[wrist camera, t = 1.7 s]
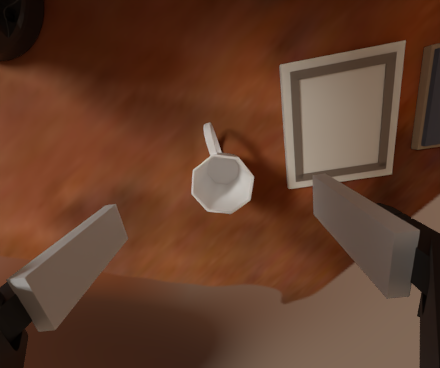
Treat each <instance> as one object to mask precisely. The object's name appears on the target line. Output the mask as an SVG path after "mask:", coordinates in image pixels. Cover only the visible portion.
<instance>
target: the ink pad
mask: <svg viewBox="0 0 440 368" xmlns="http://www.w3.org/2000/svg"><path fill="white" fill-rule="evenodd" d="M433 147H440V43H439V44H434V45H430V46H427V47H424V52H423V59H422V67H421V75H420V83H419V90H418V98H417V106H416V113H415V121H414V129H413V136H412V144H411V149H415V150H420V149H427V148H433Z"/></svg>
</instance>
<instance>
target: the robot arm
mask: <svg viewBox="0 0 440 368" xmlns="http://www.w3.org/2000/svg"><path fill="white" fill-rule="evenodd" d="M43 13H44V0H0V61H6V60H11V59H14V58H16V57H19V56H20V55H22V54H24V53H25V52H26V51H27V50H28V49H29V48H30V47H31V46H32V45H33V43H34V42H35V40H36V39H37V37H38V34H39V32H40V29H41V25H42V21H43ZM313 212H314V215H315V216H316V218H317V219H318V220H319V221H320V222H321V223H322V224H323V226H324V227H325V228H326V229H327V230H328V231H329V233H330V234H331V235H332V236H333V237H334V238H335V239H336V241H337V242H338V243H339V244H340V245H341V246H342V247H343V249H344V250H345V251H346V252H347V253H348V254H349V256H350V257H351V258H352V259H353V260H354V261H355V262H356V264H357V265H358V266H359V267H360V268H361V269H362V270H363V272H364V273H365V274H366V275H367V276H368V277H369V279H370V280H371V281H372V282H373V283H374V284H375V285H376V287H377V288H378V289H379V290H380V291H381V292H382V293H383V295H384V296H385V297H386V298H387V299H388V298H398V297H409V295H410V289H411V283H412V284H414V285H415V286H416V287H417V288H418V289H419V290H420V291H421V292H422V293H421V299H420V304H419V309H418V315H417V316H418V317H420V368H440V233H438V232H436V231H434V230H432V229H430V228H429V227H427V226H425V225H423V224H422V223H420V222H418V221H416V220H414V219H411V217H409V216H407V215H406V214H403V213H402V212H400V211H398V210H397V209H395V208H393V207H390V206H387V205H384V204H381V203H377V204H375V203H374V202H372V201H370V200H369V199H367V198H365V197H364V196H362V195H360V194H359V193H357V192H355V191H354V190H352V189H350V188H349V187H347V186H345V185H344V184H342V183H340V182H339V181H337V180H335V179H334V178H332V177H330V176H329V175H327V174H325V173H324V174H318V175H313ZM127 239H128V237H127V234H126V231H125V228H124V226H123V223H122V220H121V217H120V214H119V212H118V209H117V206H116V204H113V205H106V206H104V207H103V208H101V209H100V210H99V211H97V212H96V213H95V214H93V215H92V216H91V217H89V218H88V219H87V220H85V221H84V222H83V223H81V224H80V225H79V226H77V227H76V228H75V229H73V230H72V231H71V232H69V233H68V234H67V235H65V236H64V237H63V238H61V239H60V240H59V241H57V242H56V243H55V244H53V245H52V246H51V247H49V248H48V249H47V250H45V251H44V252H43V253H41V254H40V255H39V256H37V257H36V258H35V259H33V260H32V261H31V262H29V263H28V264H27V265H25V266H24V267H23V268H21V269H20V270H19V271H17V272H16V273H15V274H13V275H12V276H11V277H9V278H8V279H7V283H5V284H4V285H3V286H1V287H0V368H23V367H24V360H25V354H26V348H27V341H28V334H27V332H26V330H25V328H26V327H27V326H28V325H29V323H31V321H32V322H33V324H34V325H35V327H36V328H37V330H38V331H39V332H40V331H49V330H56V328H57V327H58V326H59V325H60V323H61V322H62V321H63V320H64V318H65V317H66V316H67V314H68V313H69V312H70V311H71V310H72V308H73V307H74V306H75V305H76V303H77V302H78V300H80V298H81V297H82V296H83V295H84V293H85V292H86V291H87V290H88V288H89V287H90V286H91V285H92V283H93V282H94V281H95V280H96V278H97V277H98V276H99V274H100V273H101V272H102V271H103V269H104V268H105V267H106V266H107V264H108V263H109V262H110V261H111V259H112V258H113V257H114V256H115V254H116V253H117V252H118V251H119V249H120V248H121V247H122V246H123V244H124V243H125V242H126V241H127Z"/></svg>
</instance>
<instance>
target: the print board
mask: <svg viewBox="0 0 440 368" xmlns="http://www.w3.org/2000/svg"><path fill="white" fill-rule="evenodd" d="M405 44H406V40H404V41H399V42H394V43H389V44H384V45H378V46H373V47H368V48H363V49H358V50H353V51H348V52H343V53H337V54H332V55H327V56H322V57H317V58H312V59H307V60H302V61H296V62H291V63H286V64H281V65H280V66H279V70H280V85H281V100H282V114H283V129H284V144H285V159H286V173H287V187H288V189H294V188H301V187H308V186H313V175H318V174H324V173H325V174H327V175H329V176H330V177H332V178H334V179H335V180H337V181H339V182H343V181H349V180H356V179H363V178H370V177H377V176H384V175H391V174H392V169H393V159H394V149H395V140H396V130H397V121H398V111H399V101H400V92H401V82H402V73H403V63H404V53H405Z"/></svg>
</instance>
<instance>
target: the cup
mask: <svg viewBox="0 0 440 368" xmlns="http://www.w3.org/2000/svg"><path fill="white" fill-rule="evenodd" d="M203 130H204V136H205V140H206V143H207V147H208V150H209V153H210V157H209V158H207V159H206V160H205V161H204V162H202V163H201V164H200V165H199V166H197V167H196V168H195V169H194V170H193V175H192V192H191V194H192V195H193V196H194V197H195V199H196V200H197V201H198V202H199V203H200V204H201V205H202V206H203V207H204V208H205V210H206V211H208V212H217V213H226V214H232V213H233V212H235V211H236V210H238V209H239V208H240V207H242V206H243V205H245V204H246V203H247V202H249V201H250V200H251V194H252V188H253V182H254V176H253V175H252V173H251V172H250V171H249V169H248V168H247V167H246V166H245V164H244V163H243V162H242V161H241V159H240V158H239V157H238V156H236V155H234V154H228V153H222V152H221V148H220V145H219V142H218V139H217V137H216V134H215V131H214V129H213V126H212V124H211V122H210V123H206V124H204V127H203Z"/></svg>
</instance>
